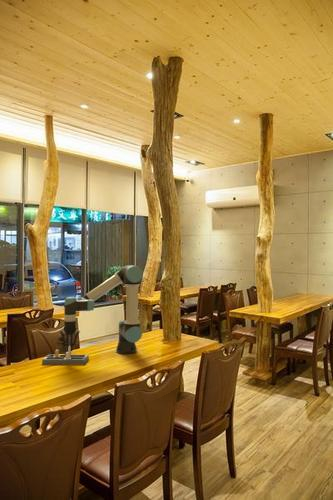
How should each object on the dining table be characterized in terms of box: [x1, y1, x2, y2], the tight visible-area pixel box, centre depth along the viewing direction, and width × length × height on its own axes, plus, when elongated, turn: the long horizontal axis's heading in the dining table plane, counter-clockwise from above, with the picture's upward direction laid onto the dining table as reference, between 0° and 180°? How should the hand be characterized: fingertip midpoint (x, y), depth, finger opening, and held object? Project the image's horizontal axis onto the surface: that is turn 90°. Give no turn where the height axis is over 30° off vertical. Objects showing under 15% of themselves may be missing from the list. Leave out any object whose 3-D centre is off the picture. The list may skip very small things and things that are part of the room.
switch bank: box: [41, 354, 90, 365], centre depth 240 cm, size 28×12×3 cm, turn 90°
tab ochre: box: [54, 349, 61, 357], centre depth 243 cm, size 4×3×5 cm
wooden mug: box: [55, 332, 71, 355], centre depth 258 cm, size 9×14×18 cm, turn 49°
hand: (69, 355), depth 237 cm, fingers closed
